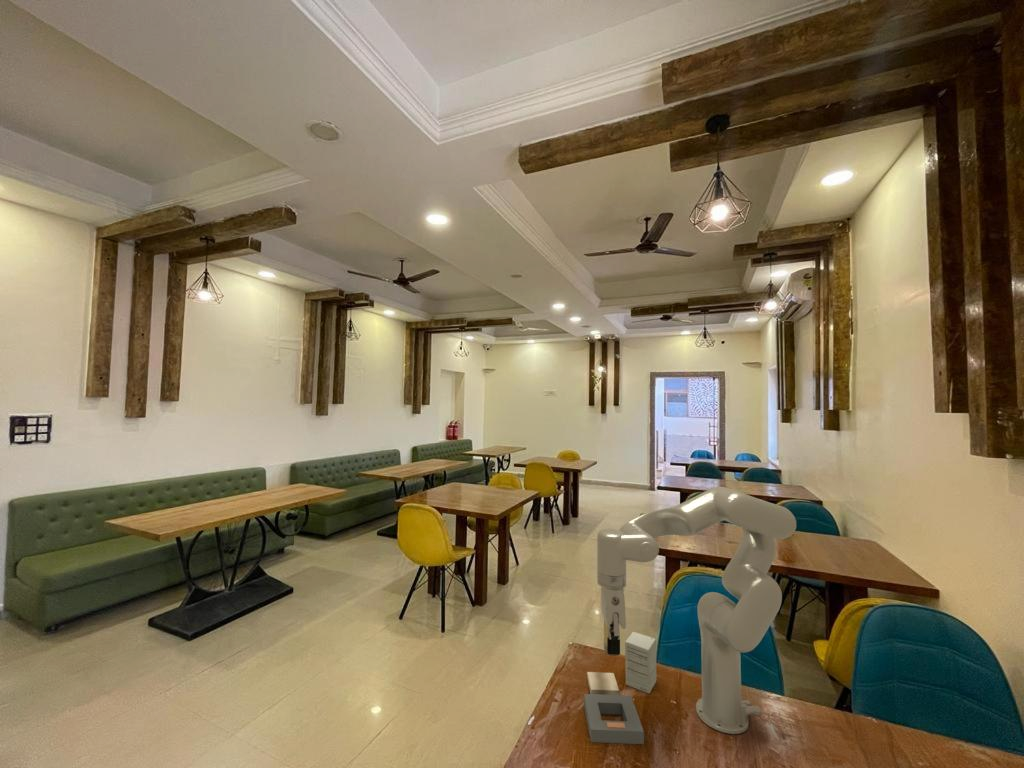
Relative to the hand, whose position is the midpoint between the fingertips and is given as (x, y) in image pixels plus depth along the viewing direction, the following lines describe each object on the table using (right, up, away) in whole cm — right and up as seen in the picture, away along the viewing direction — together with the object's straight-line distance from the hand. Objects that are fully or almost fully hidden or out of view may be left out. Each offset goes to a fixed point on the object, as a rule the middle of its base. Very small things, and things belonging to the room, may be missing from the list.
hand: (611, 648), depth 111 cm
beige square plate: (0, -20, +13) cm, 24 cm away
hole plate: (0, -19, -1) cm, 19 cm away
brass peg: (0, -1, 0) cm, 1 cm away
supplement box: (+12, -20, +15) cm, 28 cm away
